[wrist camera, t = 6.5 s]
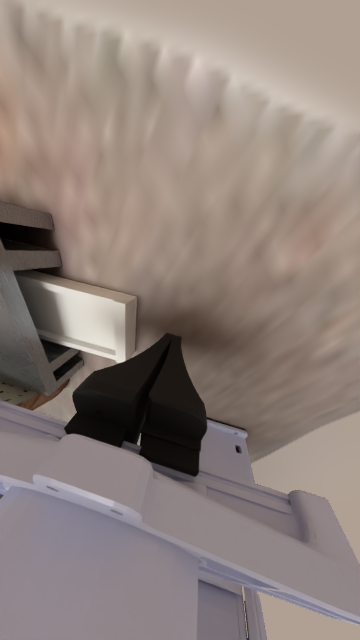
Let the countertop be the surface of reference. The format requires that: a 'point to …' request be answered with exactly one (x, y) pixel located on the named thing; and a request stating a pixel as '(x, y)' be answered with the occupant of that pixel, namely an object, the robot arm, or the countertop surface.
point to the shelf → (14, 318)
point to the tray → (80, 314)
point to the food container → (25, 396)
